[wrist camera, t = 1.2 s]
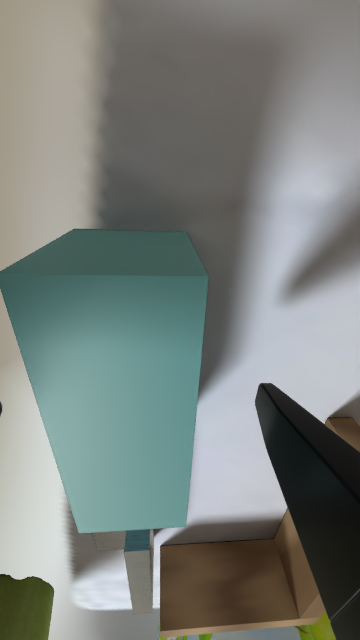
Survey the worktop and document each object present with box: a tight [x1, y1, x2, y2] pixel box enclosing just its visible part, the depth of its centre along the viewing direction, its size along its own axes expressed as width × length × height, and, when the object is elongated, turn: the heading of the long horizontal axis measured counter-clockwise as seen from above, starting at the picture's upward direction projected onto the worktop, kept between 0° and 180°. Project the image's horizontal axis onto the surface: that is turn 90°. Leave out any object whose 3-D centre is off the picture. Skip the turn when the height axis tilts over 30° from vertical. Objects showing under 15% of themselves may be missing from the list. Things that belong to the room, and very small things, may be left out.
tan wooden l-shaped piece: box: [160, 418, 360, 638], centre depth 16 cm, size 11×16×4 cm
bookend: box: [93, 529, 154, 615], centre depth 16 cm, size 4×9×4 cm, turn 178°
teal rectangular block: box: [0, 229, 209, 533], centre depth 10 cm, size 4×10×5 cm, turn 178°
